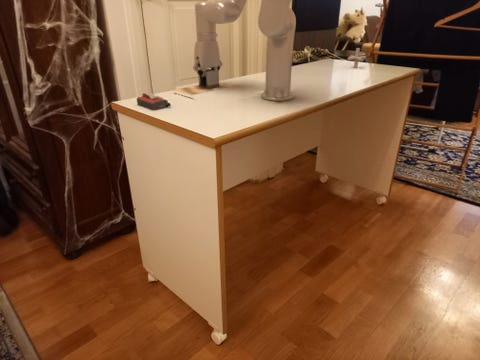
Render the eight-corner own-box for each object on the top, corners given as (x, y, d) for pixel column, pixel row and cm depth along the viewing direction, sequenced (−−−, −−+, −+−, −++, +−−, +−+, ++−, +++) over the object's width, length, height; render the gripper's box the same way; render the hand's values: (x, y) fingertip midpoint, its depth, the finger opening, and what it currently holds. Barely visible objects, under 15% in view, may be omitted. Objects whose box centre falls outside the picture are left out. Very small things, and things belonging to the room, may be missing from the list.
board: (215, 85, 155) (215, 81, 154) (234, 89, 147) (234, 85, 147) (174, 93, 142) (173, 89, 141) (192, 98, 134) (191, 94, 133)
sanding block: (208, 84, 149) (207, 68, 146) (219, 87, 145) (218, 70, 142) (199, 86, 146) (198, 70, 143) (209, 89, 141) (209, 72, 138)
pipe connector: (342, 67, 192) (344, 47, 188) (358, 65, 195) (360, 46, 190) (352, 70, 184) (355, 49, 179) (369, 68, 186) (372, 49, 182)
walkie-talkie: (176, 107, 125) (147, 97, 138) (175, 95, 123) (145, 86, 136) (154, 112, 120) (126, 102, 132) (153, 99, 118) (124, 90, 130)
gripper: (216, 35, 144) (218, 80, 152) (183, 38, 134) (186, 86, 142) (229, 36, 139) (230, 82, 148) (195, 39, 129) (198, 89, 137)
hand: (209, 84), depth 145 cm, fingers closed on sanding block, 5 cm apart
